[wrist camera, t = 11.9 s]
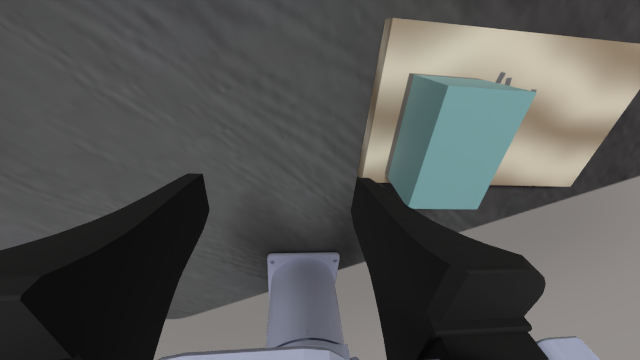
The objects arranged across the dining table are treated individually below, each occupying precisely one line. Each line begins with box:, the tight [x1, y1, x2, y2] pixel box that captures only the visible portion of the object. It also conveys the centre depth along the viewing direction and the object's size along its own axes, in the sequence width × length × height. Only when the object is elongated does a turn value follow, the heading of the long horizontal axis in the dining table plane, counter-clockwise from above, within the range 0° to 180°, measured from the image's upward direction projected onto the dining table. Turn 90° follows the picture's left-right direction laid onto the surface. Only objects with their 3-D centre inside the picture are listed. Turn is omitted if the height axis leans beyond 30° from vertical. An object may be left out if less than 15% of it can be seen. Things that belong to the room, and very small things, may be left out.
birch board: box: [358, 18, 640, 187], centre depth 20 cm, size 12×21×2 cm, turn 86°
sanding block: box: [385, 73, 537, 209], centre depth 17 cm, size 8×5×5 cm, turn 176°
